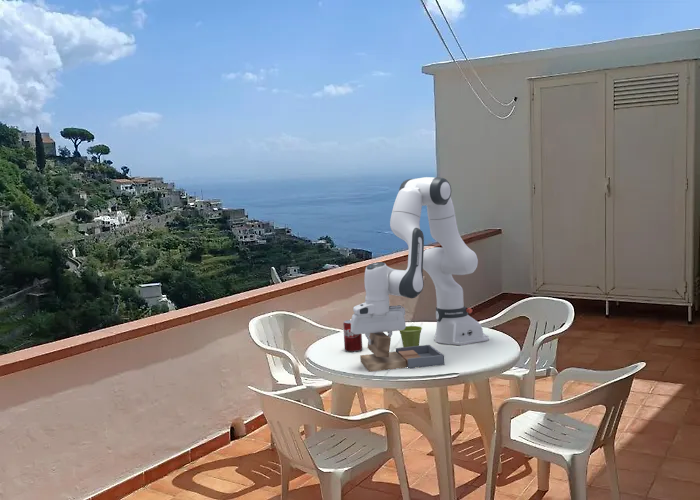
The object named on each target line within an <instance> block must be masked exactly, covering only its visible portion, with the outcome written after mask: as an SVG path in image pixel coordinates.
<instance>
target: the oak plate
mask: <svg viewBox="0 0 700 500" xmlns="http://www.w3.org/2000/svg"><path fill="white" fill-rule="evenodd" d="M359 356H360V357H359V358H360V363H361V365H363V367H364V368H365V369H366V370H367V371H368V373H369V372H371V373H372V372H379V371H388V369H390V370H396V368H399V369H406V368H407V367H406V360H405V359H403V358H402V357H401V356H400V355H399V354H398V353H397V352H396V351H389V357H376V356H375V355H374V354H373V353H371V354H369V353H368V354H361V355H359ZM405 367H406V368H405Z"/></svg>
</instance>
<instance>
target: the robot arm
mask: <svg viewBox="0 0 700 500" xmlns="http://www.w3.org/2000/svg"><path fill="white" fill-rule="evenodd" d="M451 196H452V185H451V183H450V182H449V181H448V180H447V179H446V178H444V177H441V176H436V177H431V176H430V177H429V176H425V177H424V176H423V177H419V178H418V177H417V178H409V179H406V180H404V181H402V183H401V184H400V186H399V188H398V193H397V194H396V198H395V200H394V203H393V207H392V211H391V215H390V219H389V225H390V226H389V227H390V230H391V232H392V233H393V234H394V235H395V236H396V237H397V238H399V239H401V240H402V241H405V243H406V244H407V246H408V254H407V255H408V257H407V268H406V269H405V270H403V269H395V268H393V267H390V266H388V265H387V264H386V263H385V262H381V261H377V262H372V263H369V264H367V266H366V267H365V270H364V281H363V282H364V290H365V297H364V299H365V301H364V302H362V303H360V304H357V305H354V306H353V309H352V310H353V314H352V316H351V318H350V320H351V331H352V333H353V334H362V335H363V334H364V336H365V337H366V339H367V345H368V344H369V345H373V340H372V339H370V338H369V336H370V333H377V332H383V333H387V336H389V337H390V338H391V337H392V336H393V332H397V331H398V332H400V331H399V330H404V329H405V328H406V325H407V324H406V318H405V316H406V309H405V307H404V306H403V305H401V304H399V305H390V296H389V295H392V296H398V297H404V298H407V299H416V297H418V296H419V295H420V294H421V293H422V291H423V290H424V289H423V288H424V286H425V285H424V284H425V283H424V275H423V274H424V273H423V272H424V271H425V272H426V273H427V274H428V275H429V277H430V279H431V280H432V283H433V285H434V290H435V295H436V296H435V297H436V298H435V299H436V307H435V319H436V329H435V336H434V342H436V343H439V344H444V345H455V346H462V345H463V346H464V345H468V344H474V343H481V342H486V341H489V340H490V338H489V336H488V335H487V334H486V333H484V331H483V327H482V324H481V323H480V322H479V321H477V320H476V319H475V318H473V317H472V316H470V315H469V314H472V313H473V309H472V308H471V307H466V306H464V289H463V287H462V285H460V284H459V283H458V282H456V280H455V278H454V277H453V275H456V276H465V275H470V274H473V273H474V272H475V271H476V269H477V268H478V264H479V259H478V256H477V253H476V252H475V251H474V250H472V249H471V248H470V247H468V245H467V244H466V243H465V241H464V240H463V239H462V237H461V235H460V232H459V228H458V223H457V218H456V211H455V206H454V203H453V200H452V197H451ZM425 206H426V212H427V219H428V226H429V233H430V236H431V238H432V239H433V240H435V241H436V242H438V243H439V245H441V247H440V246H439V247H430V248H427V249H425V238H424V237H425V235H424V233H423V231H422V229H421V226H420V225H421V224H420V222H421V217H422V216H421V215H422V207H425ZM391 339H392V338H391Z"/></svg>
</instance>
